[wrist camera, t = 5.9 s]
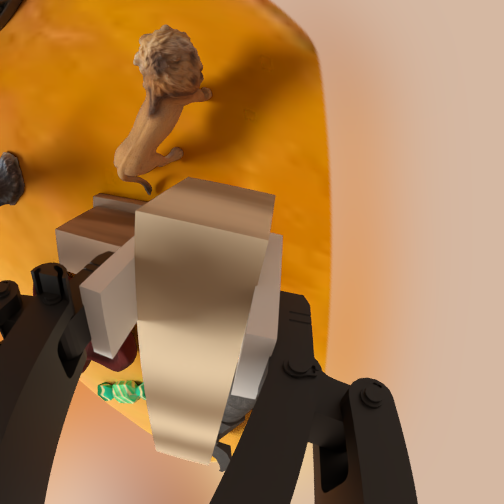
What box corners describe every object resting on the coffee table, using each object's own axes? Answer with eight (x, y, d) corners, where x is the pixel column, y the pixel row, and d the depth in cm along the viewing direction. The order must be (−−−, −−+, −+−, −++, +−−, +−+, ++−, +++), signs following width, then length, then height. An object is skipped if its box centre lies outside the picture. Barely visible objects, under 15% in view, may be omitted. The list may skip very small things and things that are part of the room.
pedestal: (99, 193, 27) (50, 217, 20) (173, 207, 27) (133, 238, 19) (100, 243, 29) (58, 276, 22) (169, 260, 29) (135, 303, 22)
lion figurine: (178, 44, 20) (129, 16, 12) (231, 57, 20) (201, 24, 12) (131, 184, 26) (75, 212, 18) (176, 203, 26) (131, 238, 18)
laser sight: (287, 375, 35) (283, 439, 26) (219, 433, 44) (208, 477, 35) (220, 345, 34) (200, 410, 25) (171, 413, 43) (154, 457, 34)
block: (188, 176, 12) (135, 210, 8) (275, 195, 12) (268, 240, 8) (174, 401, 20) (156, 450, 16) (221, 414, 20) (209, 465, 16)
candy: (144, 377, 38) (144, 402, 36) (158, 380, 41) (159, 404, 38) (97, 379, 41) (97, 400, 39) (111, 382, 44) (111, 402, 42)
